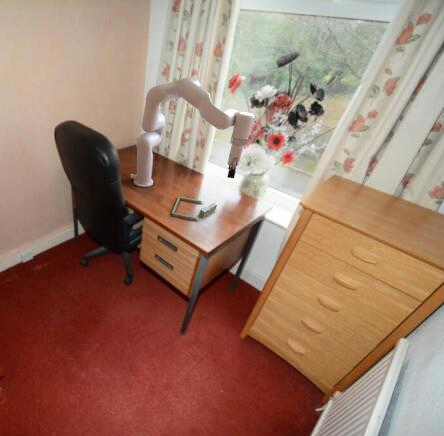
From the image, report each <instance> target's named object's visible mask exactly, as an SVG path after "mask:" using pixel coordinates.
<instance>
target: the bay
mask: <svg viewBox="0 0 444 436" xmlns="http://www.w3.org/2000/svg"><path fill="white" fill-rule="evenodd" d="M180 200H181V201H184V202H189V203H195V204H199V205H202V202H203V201H202V200H200V199H195V198H189V197H185V196H178V197H177V199H176V202H175V204H174V206H173V208H172V211H171V215H170V216H173V217H176V218H181V219H186V220H189V221H195V222H197V220H198V217H195V216H191V215H188V214H187V215H186V214H183V213H178V212H176V209H177V207H178V204H179V202H180Z"/></svg>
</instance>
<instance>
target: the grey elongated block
mask: <svg viewBox="0 0 444 436" xmlns="http://www.w3.org/2000/svg"><path fill="white" fill-rule="evenodd" d="M217 207H218V204H217V203H215V202H212V203H211V204H208V205H207V206H205V207H203V208H202V209H200V210H199V213H198V217H200V218H201V219H203V218H204V217H206V216H208V215H209V214H211V213H212V212H214V211H216V210H217Z"/></svg>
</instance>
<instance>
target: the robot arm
mask: <svg viewBox="0 0 444 436" xmlns="http://www.w3.org/2000/svg"><path fill="white" fill-rule="evenodd" d="M145 96H146V97H145V104H144V109H143V115H142V120H141V129H142V131H143V132H144V133H142V134H139V136H138V137H137V139H136V142H135V144H136V174H134V173H130V175H129V176H130V179H133V184H134V185H136V186H137V187H140V188H149V187H151V186H153V185H154V180H153V179H152V175H153V161H154V154H153V149H154V148H155V147H157V146H158V145H160V144H161V142H162V139H163V135H164V130H165V126H166V117H165V115H164V114H163V113H162V112H161V104H163V103H167V102H172V101H174V100H178V99H182V100H184V101H185V102H187V103H188V104H190V105H191V106H192V107H193V108H195V109H196V110H197V111H198V112H199V114H200V115H201V116H202V118H203V119H204V120H205V121H206V122H207V123H208V124H210V125H211V126H213V127H214V128H216V129H218V130H221V131H223V130H227V129H229V128H230V127H233V128H232V132H231V133H232V134H231V138H230V142H229V143H230V150H229V155H228V159H227V165H228V168H227V169H228V172H227V177H226V178H228V179H235V176H236V172H237V167H238V166H239V164H240V162H241V161H240V160H241V157H242V154H243V150H244V147H246V146H248V141H249V137H250V134H251V130H252V126H253V122H254V119H255V116H254V114H253V113H250V112H246V111H245V112H244V111H240V110H236V109H233V108H228V109H225V110H224V111H223V110H221V109H220V108H218V107H217V106H216V105H214V103H213V101H212V99H211V94H210V92H208V91H207V90H205V89H204V88H203V87H201V83H200V81H199V79H198V78H197V77H195V76H188V77H183V78H181V79H178V80H175V81H171V82H167V83H164V84H159V85H155V86H152V87H151V88H150V89H149V90H148V91H147V93H146V95H145Z"/></svg>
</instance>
